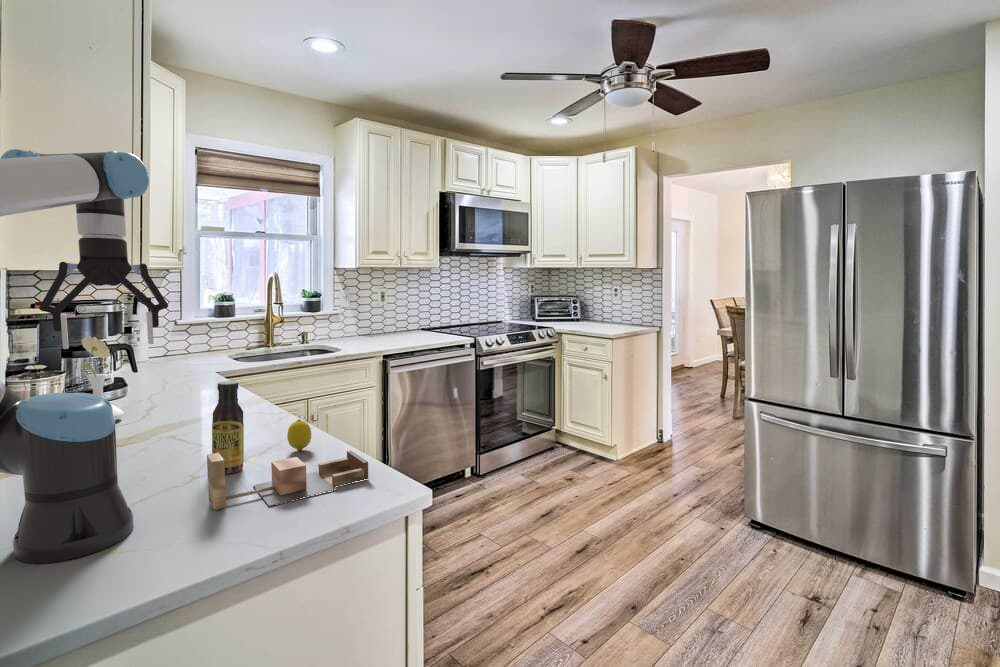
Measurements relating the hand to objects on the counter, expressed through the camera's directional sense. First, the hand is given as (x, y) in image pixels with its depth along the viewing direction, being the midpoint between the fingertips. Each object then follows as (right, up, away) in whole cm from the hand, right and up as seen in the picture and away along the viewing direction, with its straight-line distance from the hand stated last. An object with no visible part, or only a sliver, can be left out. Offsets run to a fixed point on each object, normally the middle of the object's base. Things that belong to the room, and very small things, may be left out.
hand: (110, 345), depth 104 cm
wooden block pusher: (+31, -29, -2) cm, 42 cm away
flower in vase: (-39, -23, +48) cm, 66 cm away
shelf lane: (+39, -29, +5) cm, 49 cm away
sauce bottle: (+18, -28, +12) cm, 35 cm away
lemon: (+28, -27, +25) cm, 46 cm away
